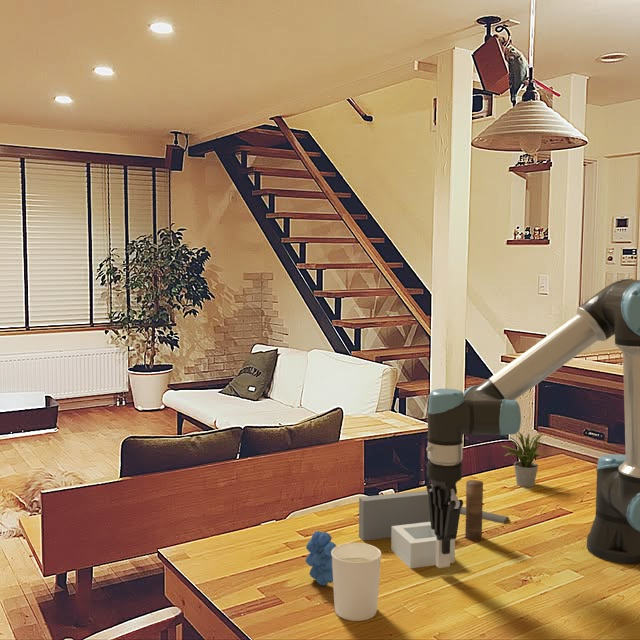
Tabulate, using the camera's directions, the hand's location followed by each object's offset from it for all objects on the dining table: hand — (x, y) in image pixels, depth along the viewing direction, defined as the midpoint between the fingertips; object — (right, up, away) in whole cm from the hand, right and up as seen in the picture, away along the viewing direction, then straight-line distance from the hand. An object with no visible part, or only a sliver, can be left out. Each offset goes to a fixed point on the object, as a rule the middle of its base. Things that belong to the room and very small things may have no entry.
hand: (442, 565), depth 163 cm
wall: (-7, 0, +23) cm, 24 cm away
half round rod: (+14, +1, +38) cm, 41 cm away
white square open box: (-3, -1, +10) cm, 11 cm away
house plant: (+36, +4, +65) cm, 74 cm away
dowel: (+11, 0, +21) cm, 24 cm away
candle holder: (-20, -4, -17) cm, 26 cm away
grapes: (-26, -3, -5) cm, 26 cm away
